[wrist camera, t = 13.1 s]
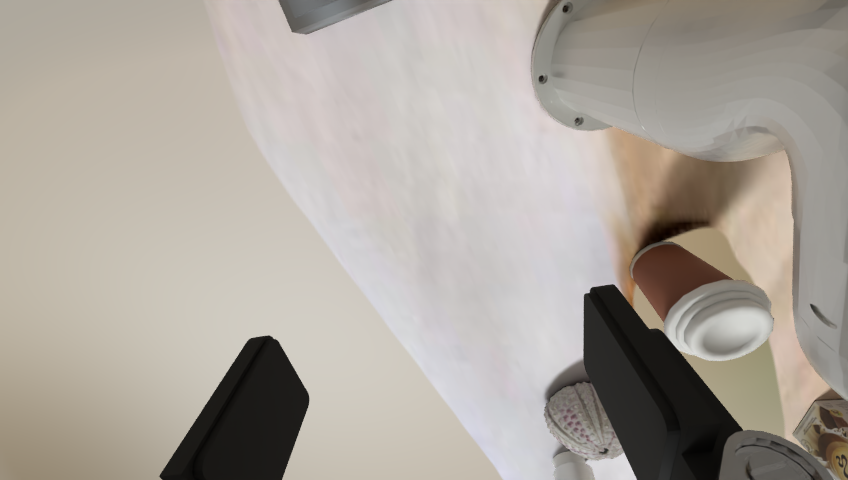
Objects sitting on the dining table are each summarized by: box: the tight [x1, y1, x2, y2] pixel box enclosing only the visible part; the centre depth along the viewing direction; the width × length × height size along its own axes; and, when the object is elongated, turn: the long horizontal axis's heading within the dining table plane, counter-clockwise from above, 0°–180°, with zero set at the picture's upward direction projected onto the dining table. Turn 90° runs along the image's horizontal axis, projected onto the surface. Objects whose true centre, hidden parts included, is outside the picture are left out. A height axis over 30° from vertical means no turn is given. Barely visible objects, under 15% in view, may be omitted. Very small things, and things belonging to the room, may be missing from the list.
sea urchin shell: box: [544, 382, 623, 460], centre depth 51 cm, size 13×14×8 cm
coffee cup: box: [629, 242, 774, 361], centre depth 36 cm, size 9×9×12 cm
